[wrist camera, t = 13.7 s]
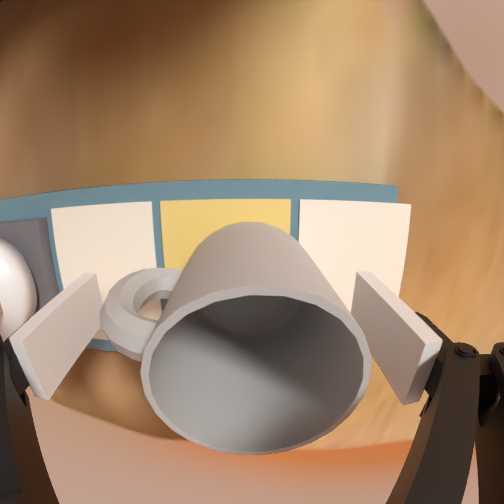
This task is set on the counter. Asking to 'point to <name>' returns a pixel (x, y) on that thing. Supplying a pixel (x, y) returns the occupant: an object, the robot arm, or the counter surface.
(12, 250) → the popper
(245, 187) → the game board
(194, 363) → the cup
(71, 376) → the counter surface
